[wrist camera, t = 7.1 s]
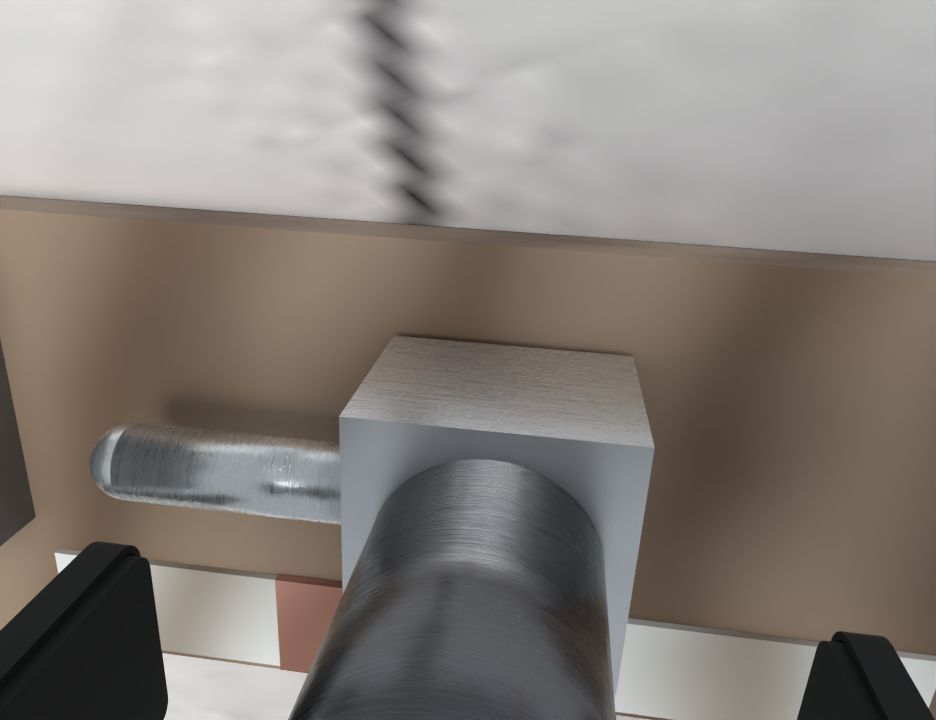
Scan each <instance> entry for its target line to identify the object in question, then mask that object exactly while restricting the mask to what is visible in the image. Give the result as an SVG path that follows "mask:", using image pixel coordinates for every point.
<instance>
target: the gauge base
mask: <svg viewBox="0 0 936 720" xmlns="http://www.w3.org/2000/svg"><path fill="white" fill-rule="evenodd" d="M393 336H403V337H415V338H426V339H438V340H449V341H461V342H472V343H484V344H495V345H507V346H518V347H530V348H542V349H553V350H565V351H576V352H588V353H599V354H611V355H622V356H633V357H634V362H635V366H636V370H637V374H638V379H639V383H640V387H641V392H642V396H643V400H644V404H645V409H646V413H647V417H648V421H649V426H650V430H651V434H652V439H653V443H654V447H655V449H654V455H653V461H652V468H651V474H650V481H649V487H648V493H647V500H646V506H645V513H644V519H643V525H642V532H641V538H640V545H639V551H638V557H637V564H636V570H635V577H634V583H633V589H632V596H631V602H630V609H629V615H628V621H627V628H626V634H625V641H624V647H623V653H622V660H621V666H620V673H619V679H618V685H617V692H616V695H614V702H615V715H622V716H630V717H637V718H644V719H652V720H797V717H798V713H799V710H800V706H801V703H802V699H803V695H804V692H805V688H806V685H807V681H808V678H809V674H810V670H811V667H812V663H813V660H814V656H815V652H816V649H817V646H818V644H819V643H820V642H821V641H831V639H832V637H833V635H834V634H835V633H836V632H838V631H844V632H852V633H860V634H868V635H877V636H883V637H885V638H887V639H888V640H889V641H890V643H891V644H892V645H893V647H894V649H895V651H896V652H897V654H898V656H899V658H900V659H901V661H902V663H903V665H904V666H905V668H906V670H907V672H908V673H909V675H910V677H911V679H912V680H913V682H914V684H915V686H916V687H917V689H918V691H919V693H920V694H921V696H922V698H923V700H924V701H925V703H926V705H927V707H928V708H929V710H930V712H931V714H932V715H933V717H934V719H935V720H936V262H931V261H917V260H902V259H888V258H874V257H860V256H846V255H832V254H818V253H804V252H789V251H775V250H761V249H747V248H733V247H719V246H705V245H691V244H677V243H662V242H648V241H634V240H620V239H606V238H592V237H578V236H564V235H550V234H535V233H521V232H507V231H493V230H479V229H465V228H451V227H437V226H422V225H408V224H394V223H380V222H366V221H352V220H338V219H324V218H310V217H295V216H281V215H267V214H253V213H239V212H225V211H211V210H197V209H182V208H168V207H154V206H140V205H126V204H112V203H98V202H84V201H70V200H55V199H41V198H27V197H13V196H0V630H1V629H2V628H3V627H4V626H5V625H6V624H7V623H8V622H9V621H10V620H11V619H13V618H14V617H15V616H16V615H17V614H18V613H19V612H20V611H21V610H22V609H23V608H24V607H25V606H26V605H27V604H28V603H29V602H30V601H31V600H32V599H33V598H34V597H35V596H36V595H37V594H38V593H39V592H40V591H41V590H42V589H43V588H44V587H45V586H46V585H48V584H49V583H50V582H51V581H52V580H53V579H54V578H55V577H56V576H57V575H58V574H59V573H60V572H61V571H62V570H63V569H64V568H65V567H66V566H67V565H68V564H69V563H70V562H71V561H72V560H73V559H74V558H75V557H76V556H77V555H78V554H79V553H80V552H81V551H83V550H84V549H85V548H86V547H87V546H88V545H89V544H91V543H92V542H97V541H100V542H108V543H116V544H124V545H132V546H135V547H137V549H138V550H139V551H140V555H141V557H144V558H147V560H148V561H149V564H150V568H151V576H152V583H153V590H154V598H155V605H156V612H157V620H158V627H159V634H160V642H161V649H162V653H167V654H174V655H182V656H189V657H197V658H204V659H211V660H219V661H226V662H233V663H241V664H248V665H255V666H263V667H270V668H277V669H281V670H288V671H295V672H303V673H309V671H310V669H311V666H312V664H313V662H314V659H315V657H316V655H317V653H318V650H319V648H320V646H321V643H322V641H323V639H324V637H325V634H326V632H327V630H328V627H329V625H330V623H331V620H332V618H333V616H334V614H335V611H336V609H337V607H338V604H339V602H340V600H341V598H342V595H343V586H342V538H341V525H335V524H326V523H318V522H309V521H300V520H291V519H283V518H274V517H265V516H257V515H248V514H239V513H230V512H222V511H213V510H204V509H195V508H187V507H178V506H169V505H160V504H152V503H143V502H134V501H126V500H121V499H117V498H113V497H111V496H109V495H107V494H106V493H104V492H103V491H102V490H101V489H100V488H99V487H98V486H97V485H96V483H95V482H94V480H93V478H92V476H91V472H90V467H89V460H90V455H91V451H92V449H93V447H94V445H95V443H96V442H97V441H98V439H99V438H100V437H101V436H102V435H103V434H104V433H105V432H107V431H108V430H109V429H111V428H113V427H115V426H117V425H120V424H124V423H129V422H141V423H151V424H160V425H170V426H180V427H189V428H199V429H209V430H219V431H228V432H238V433H248V434H258V435H267V436H277V437H287V438H296V439H306V440H316V441H326V442H335V443H340V440H339V416H340V414H341V413H342V411H343V410H344V408H345V407H346V405H347V404H348V402H349V401H350V400H351V398H352V397H353V395H354V394H355V392H356V391H357V389H358V388H359V386H360V385H361V383H362V382H363V380H364V379H365V377H366V376H367V374H368V373H369V372H370V370H371V369H372V367H373V366H374V364H375V363H376V361H377V360H378V358H379V357H380V355H381V354H382V352H383V351H384V349H385V348H386V346H387V345H388V344H389V342H390V341H391V339H392V338H393Z"/></svg>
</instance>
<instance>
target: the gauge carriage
mask: <svg viewBox="0 0 936 720" xmlns="http://www.w3.org/2000/svg"><path fill="white" fill-rule="evenodd" d="M339 440H340V443H335V442H326V441H316V440H306V439H296V438H287V437H277V436H267V435H258V434H248V433H238V432H228V431H219V430H209V429H199V428H189V427H180V426H170V425H160V424H151V423H141V422H129V423H124V424H120V425H117V426H115V427H113V428H111V429H109V430H108V431H107V432H105V433H104V434H103V435H102V436H101V437H100V438H99V439H98V441H97V442H96V443H95V445H94V447H93V449H92V451H91V455H90V460H89V467H90V472H91V476H92V478H93V480H94V482H95V483H96V485H97V486H98V487H99V488H100V489H101V490H102V491H103V492H104V493H106V494H107V495H109V496H111V497H113V498H117V499H121V500H126V501H134V502H143V503H152V504H160V505H169V506H178V507H187V508H195V509H204V510H213V511H222V512H230V513H239V514H248V515H257V516H265V517H274V518H283V519H291V520H300V521H309V522H318V523H326V524H335V525H341V538H342V586H343V595H342V598H341V600H340V602H339V604H338V607H337V609H336V611H335V614H334V616H333V618H332V620H331V623H330V625H329V627H328V630H327V632H326V634H325V637H324V639H323V641H322V643H321V646H320V648H319V650H318V653H317V655H316V657H315V659H314V662H313V664H312V666H311V669H310V671H309V673H308V675H307V678H306V680H305V682H304V685H303V687H302V689H301V691H300V694H299V696H298V698H297V701H296V703H295V705H294V707H293V710H292V712H291V714H290V717H289V719H288V720H616V715H615V702H614V695H616V692H617V685H618V679H619V673H620V666H621V660H622V653H623V647H624V641H625V634H626V628H627V621H628V615H629V609H630V602H631V596H632V589H633V583H634V577H635V570H636V564H637V557H638V551H639V545H640V538H641V532H642V525H643V519H644V513H645V506H646V500H647V493H648V487H649V481H650V474H651V468H652V461H653V455H654V449H655V447H654V443H653V439H652V434H651V430H650V426H649V421H648V417H647V413H646V409H645V404H644V400H643V396H642V392H641V387H640V383H639V379H638V374H637V370H636V366H635V362H634V357H633V356H622V355H611V354H599V353H588V352H576V351H565V350H553V349H542V348H530V347H518V346H507V345H495V344H484V343H472V342H461V341H449V340H438V339H426V338H415V337H403V336H393V338H392V339H391V341H390V342H389V344H388V345H387V346H386V348H385V349H384V351H383V352H382V354H381V355H380V357H379V358H378V360H377V361H376V363H375V364H374V366H373V367H372V369H371V370H370V372H369V373H368V374H367V376H366V377H365V379H364V380H363V382H362V383H361V385H360V386H359V388H358V389H357V391H356V392H355V394H354V395H353V397H352V398H351V400H350V401H349V402H348V404H347V405H346V407H345V408H344V410H343V411H342V413H341V414H340V416H339Z"/></svg>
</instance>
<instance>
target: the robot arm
mask: <svg viewBox="0 0 936 720" xmlns="http://www.w3.org/2000/svg"><path fill="white" fill-rule="evenodd" d="M167 705H168V693H167V686H166V679H165V671H164V664H163V657H162V649H161V642H160V634H159V627H158V620H157V612H156V605H155V598H154V590H153V583H152V576H151V568H150V564H149V561H148V560H147V558H144V557H141V555H140V551H139V550H138V549H137V547H135V546H132V545H124V544H116V543H108V542H100V541H97V542H92V543H91V544H89V545H88V546H87V547H86V548H85V549H84V550H83V551H81V552H80V553H79V554H78V555H77V556H76V557H75V558H74V559H73V560H72V561H71V562H70V563H69V564H68V565H67V566H66V567H65V568H64V569H63V570H62V571H61V572H60V573H59V574H58V575H57V576H56V577H55V578H54V579H53V580H52V581H51V582H50V583H49V584H48V585H46V586H45V587H44V588H43V589H42V590H41V591H40V592H39V593H38V594H37V595H36V596H35V597H34V598H33V599H32V600H31V601H30V602H29V603H28V604H27V605H26V606H25V607H24V608H23V609H22V610H21V611H20V612H19V613H18V614H17V615H16V616H15V617H14V618H13V619H11V620H10V621H9V622H8V623H7V624H6V625H5V626H4V627H3V628H2V629H1V630H0V720H163V719H164V717H165V714H166V710H167ZM797 720H935V719H934V717H933V715H932V714H931V712H930V710H929V708H928V707H927V705H926V703H925V701H924V700H923V698H922V696H921V694H920V693H919V691H918V689H917V687H916V686H915V684H914V682H913V680H912V679H911V677H910V675H909V673H908V672H907V670H906V668H905V666H904V665H903V663H902V661H901V659H900V658H899V656H898V654H897V652H896V651H895V649H894V647H893V645H892V644H891V643H890V641H889V640H888V639H887V638H885V637H883V636H877V635H868V634H860V633H852V632H844V631H838V632H836V633H835V634H834V635H833V637H832V639H831V641H821V642H820V643H819V644H818V646H817V649H816V652H815V656H814V660H813V663H812V667H811V670H810V674H809V678H808V681H807V685H806V688H805V692H804V695H803V699H802V703H801V706H800V710H799V713H798V717H797Z"/></svg>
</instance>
